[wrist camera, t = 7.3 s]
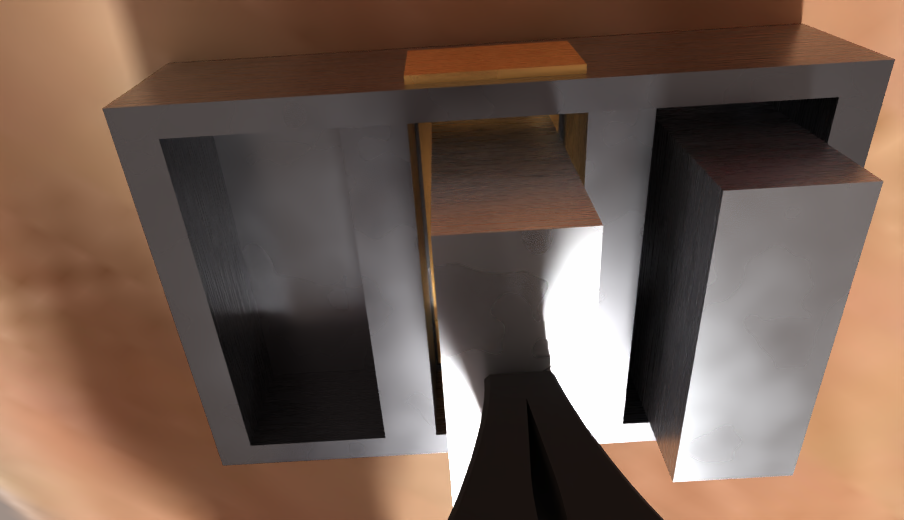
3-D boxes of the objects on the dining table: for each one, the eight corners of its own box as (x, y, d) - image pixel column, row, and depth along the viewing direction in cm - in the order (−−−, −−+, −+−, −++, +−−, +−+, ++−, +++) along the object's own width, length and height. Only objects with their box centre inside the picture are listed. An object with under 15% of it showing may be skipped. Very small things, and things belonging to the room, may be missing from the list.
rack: (733, 349, 23) (837, 511, 17) (254, 377, 23) (193, 548, 17) (804, 15, 17) (997, 86, 11) (166, 55, 17) (28, 145, 11)
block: (539, 342, 21) (581, 525, 15) (449, 348, 21) (455, 532, 15) (544, 105, 17) (603, 225, 11) (431, 111, 17) (431, 235, 11)
